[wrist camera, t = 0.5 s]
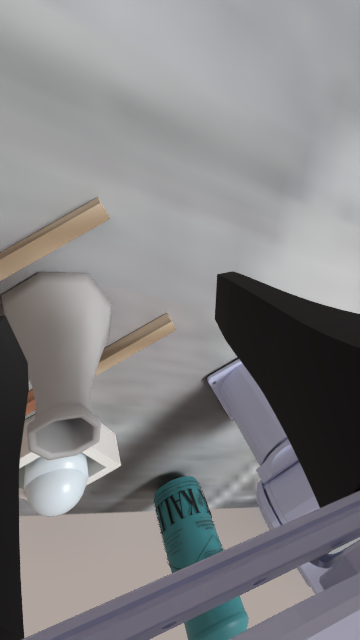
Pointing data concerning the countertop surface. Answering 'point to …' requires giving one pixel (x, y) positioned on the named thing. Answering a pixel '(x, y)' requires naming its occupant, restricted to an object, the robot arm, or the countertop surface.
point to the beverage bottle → (195, 553)
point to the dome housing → (98, 456)
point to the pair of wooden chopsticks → (57, 237)
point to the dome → (55, 484)
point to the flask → (60, 356)
